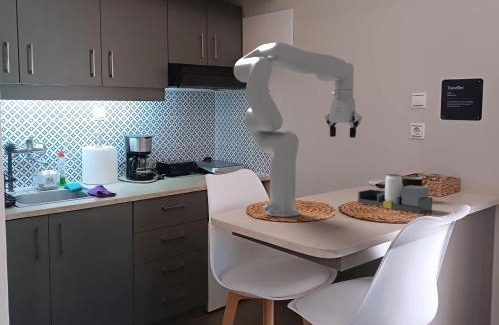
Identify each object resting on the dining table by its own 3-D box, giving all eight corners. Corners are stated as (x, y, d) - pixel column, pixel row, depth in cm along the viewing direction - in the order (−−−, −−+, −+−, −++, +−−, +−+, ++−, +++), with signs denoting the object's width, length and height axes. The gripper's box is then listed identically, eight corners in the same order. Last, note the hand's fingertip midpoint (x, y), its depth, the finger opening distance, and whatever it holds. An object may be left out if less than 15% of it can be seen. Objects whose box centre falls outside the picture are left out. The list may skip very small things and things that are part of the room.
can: (397, 206, 199) (398, 176, 197) (381, 204, 203) (382, 174, 201) (403, 203, 204) (404, 174, 202) (388, 202, 208) (389, 173, 206)
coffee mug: (419, 199, 223) (420, 176, 222) (424, 202, 214) (425, 179, 213) (392, 198, 224) (393, 176, 223) (396, 201, 215) (397, 178, 214)
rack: (419, 213, 190) (420, 189, 189) (357, 203, 210) (358, 182, 209) (431, 210, 196) (432, 187, 195) (370, 201, 216) (371, 180, 215)
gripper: (320, 94, 204) (319, 136, 206) (356, 93, 192) (355, 138, 193) (331, 95, 209) (330, 136, 211) (367, 94, 197) (366, 137, 198)
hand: (342, 137), depth 202 cm, fingers open, 9 cm apart
